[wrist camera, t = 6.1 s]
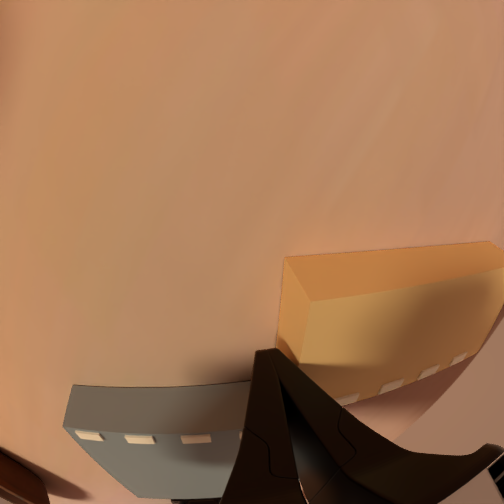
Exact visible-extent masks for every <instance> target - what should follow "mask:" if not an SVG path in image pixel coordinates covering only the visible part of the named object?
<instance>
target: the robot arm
mask: <svg viewBox="0 0 504 504" xmlns="http://www.w3.org/2000/svg"><path fill="white" fill-rule="evenodd" d="M503 452H504V448H502V447H501V446H498V445H494V444H488V443H487V444H485V445H483V446H482V447H481V448H480V449H478V450H477V451H476V452H474V453H472V454H469V455H463V456H454V455H438V454H426V453H417V452H411V451H408V450H406V449H403V448H401V447H399V446H397V445H396V444H394V443H393V442H391V441H389V440H388V439H386V438H384V437H383V436H381V435H380V434H378V433H377V432H375V431H373V430H372V429H370V428H369V427H368V426H366V425H365V424H363V423H362V422H360V421H359V420H358V419H357V418H355V417H354V416H353V415H352V414H350V413H349V412H348V411H347V410H346V409H345V408H342V406H341V405H340V404H339V403H338V402H336V401H335V400H334V399H333V398H332V397H331V396H330V395H328V394H327V393H326V392H325V391H324V390H323V389H322V388H321V387H319V386H318V385H317V384H316V383H315V382H314V381H313V380H312V379H311V378H309V377H308V376H307V375H306V374H305V373H304V372H303V371H302V370H301V369H300V368H299V367H297V366H296V365H295V364H294V363H293V362H292V361H291V360H290V359H289V358H288V357H287V356H286V355H285V354H283V353H282V352H281V351H280V350H279V349H278V348H271V349H267V350H266V349H264V350H257V351H256V352H255V357H254V364H253V370H252V377H251V383H250V389H249V395H248V402H247V408H246V414H245V420H244V426H243V431H242V437H241V442H240V446H239V451H238V454H237V457H236V460H235V463H234V466H233V469H232V472H231V474H230V477H229V480H228V482H227V485H226V488H225V490H224V493H223V495H222V497H217V498H201V499H171V502H172V503H173V504H307V502H306V500H305V498H304V496H303V493H302V490H301V486H300V482H301V485H302V488H303V490H304V493H305V495H306V498H307V500H308V502H309V504H504V454H503V455H502V456H501V457H500V458H499V459H498V460H496V459H497V458H498V457H499V456H500V455H501V454H502V453H503ZM494 460H496V461H495V462H494V463H493V464H492V465H491V466H489V465H490V464H491V463H492V462H493V461H494ZM488 466H489V467H488ZM487 467H488V468H487ZM298 479H299V480H300V482H299V480H298Z"/></svg>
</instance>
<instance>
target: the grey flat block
mask: <svg viewBox="0 0 504 504" xmlns="http://www.w3.org/2000/svg"><path fill="white" fill-rule="evenodd" d="M250 383H251V381H246V382H237V383H227V384H217V385H204V386H188V387H164V388H117V387H94V386H79V385H73V386H72V389H71V393H70V397H69V401H68V405H67V409H66V413H65V417H64V422H63V428H64V429H65V430H66V431H67V432H68V433H69V434H70V435H71V437H72V438H73V439H74V440H75V441H76V442H77V443H78V444H79V445H80V446H81V447H82V448H83V449H84V450H85V451H86V452H87V453H88V454H89V455H90V456H91V457H92V458H93V459H94V460H95V461H96V462H97V463H98V464H99V465H100V466H101V467H102V468H103V469H105V470H106V471H107V472H108V473H109V474H110V475H111V476H112V477H114V478H115V479H116V480H117V481H118V482H119V483H121V484H122V485H123V486H124V487H125V488H127V489H128V490H129V491H130V492H132V493H133V494H134V495H136V496H137V497H138V498H153V499H201V498H217V497H222V495H223V493H224V490H225V488H226V485H227V482H228V480H229V477H230V474H231V472H232V469H233V466H234V463H235V460H236V457H237V454H238V451H239V446H240V442H241V437H242V431H243V426H244V420H245V414H246V408H247V402H248V395H249V389H250ZM298 480H299V479H298ZM299 481H300V480H299Z"/></svg>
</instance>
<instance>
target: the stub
mask: <svg viewBox="0 0 504 504" xmlns="http://www.w3.org/2000/svg"><path fill="white" fill-rule="evenodd" d="M503 304H504V251H503V250H501V249H500V248H499V247H497V246H496V245H494V244H493V243H491V242H490V241H488V242H476V243H465V244H453V245H441V246H428V247H416V248H403V249H390V250H377V251H364V252H351V253H338V254H324V255H310V256H296V257H285V259H284V271H283V282H282V293H281V304H280V314H279V324H278V333H277V343H276V348H278V349H279V350H280V351H281V352H282V353H283V354H285V355H286V356H287V357H288V358H289V359H290V360H291V361H292V362H293V363H294V364H295V365H296V366H297V367H299V368H300V369H301V370H302V371H303V372H304V373H305V374H306V375H307V376H308V377H309V378H311V379H312V380H313V381H314V382H315V383H316V384H317V385H318V386H319V387H321V388H322V389H323V390H324V391H325V392H326V393H327V394H328V395H330V396H331V397H332V398H333V399H334V400H335V401H336V402H338V403H339V404H340V405H341V406H344V405H348V404H351V403H354V402H357V401H360V400H364V399H367V398H370V397H373V396H376V395H380V394H383V393H386V392H389V391H392V390H394V389H397V388H400V387H402V386H405V385H407V384H410V383H412V382H415V381H417V380H420V379H423V378H425V377H428V376H430V375H432V374H435V373H437V372H439V371H441V370H443V369H445V368H448V367H450V366H452V365H454V364H456V363H459V362H461V361H463V360H464V359H466V358H468V357H470V356H472V355H474V354H476V353H478V351H479V349H480V348H481V346H482V344H483V342H484V341H485V339H486V337H487V335H488V333H489V332H490V330H491V328H492V326H493V324H494V322H495V320H496V318H497V316H498V314H499V312H500V310H501V308H502V306H503Z"/></svg>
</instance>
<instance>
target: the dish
mask: <svg viewBox="0 0 504 504" xmlns="http://www.w3.org/2000/svg"><path fill="white" fill-rule="evenodd" d="M0 497H1V498H3V499H5V500H7V501H9V502H11V503H13V504H50V502H49V498H48V494H47V490H46V488H45V486H44V484H43V482H42V481H41V480H40V479H39V478H38V477H37V476H35V475H34V474H33V473H31V472H30V471H29V470H27V469H26V468H24V467H23V466H21V465H20V464H18V463H16V462H15V461H13V460H12V459H10V458H8V457H7V456H5V455H3V454H2V453H0Z"/></svg>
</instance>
